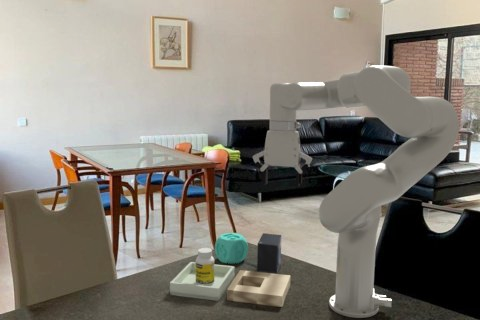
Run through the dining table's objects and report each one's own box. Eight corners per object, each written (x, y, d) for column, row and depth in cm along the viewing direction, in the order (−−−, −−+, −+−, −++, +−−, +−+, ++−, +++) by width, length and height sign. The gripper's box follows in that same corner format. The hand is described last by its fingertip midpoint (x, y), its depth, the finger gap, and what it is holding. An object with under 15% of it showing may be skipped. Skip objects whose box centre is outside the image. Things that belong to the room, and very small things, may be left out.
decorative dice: (233, 253, 162) (233, 231, 161) (248, 260, 156) (248, 237, 155) (214, 258, 157) (214, 235, 156) (229, 266, 151) (229, 242, 150)
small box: (277, 278, 141) (278, 245, 140) (256, 276, 143) (256, 243, 141) (281, 265, 152) (282, 234, 150) (261, 263, 153) (262, 232, 151)
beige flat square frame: (290, 285, 137) (290, 275, 136) (282, 307, 123) (282, 296, 123) (240, 279, 140) (240, 270, 140) (226, 300, 127) (226, 289, 126)
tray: (234, 277, 142) (234, 266, 141) (218, 300, 127) (218, 288, 126) (190, 272, 145) (190, 261, 145) (170, 294, 130) (169, 282, 129)
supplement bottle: (193, 285, 134) (192, 252, 132) (199, 278, 139) (198, 246, 137) (211, 287, 132) (211, 254, 131) (216, 279, 138) (216, 247, 136)
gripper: (314, 126, 136) (312, 184, 139) (256, 124, 141) (255, 181, 144) (311, 128, 129) (309, 189, 132) (250, 126, 134) (249, 186, 136)
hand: (281, 185), depth 138 cm, fingers open, 9 cm apart
